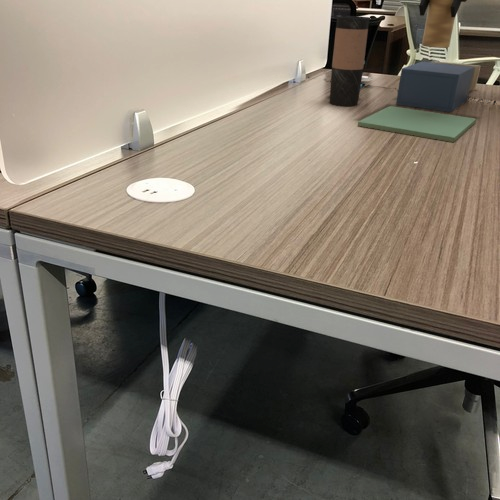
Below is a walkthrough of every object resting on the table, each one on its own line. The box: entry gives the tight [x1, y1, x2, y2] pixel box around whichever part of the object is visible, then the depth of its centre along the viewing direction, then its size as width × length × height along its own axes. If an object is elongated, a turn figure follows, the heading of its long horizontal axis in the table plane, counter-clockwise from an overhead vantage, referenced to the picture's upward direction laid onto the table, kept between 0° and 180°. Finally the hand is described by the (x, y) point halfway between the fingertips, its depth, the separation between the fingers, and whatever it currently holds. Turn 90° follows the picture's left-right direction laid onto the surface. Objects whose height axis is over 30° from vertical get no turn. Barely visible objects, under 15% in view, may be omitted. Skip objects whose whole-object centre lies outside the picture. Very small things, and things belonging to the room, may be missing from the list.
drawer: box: [433, 60, 481, 92], centre depth 141 cm, size 20×13×7 cm, turn 147°
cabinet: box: [395, 61, 474, 113], centre depth 130 cm, size 17×14×9 cm
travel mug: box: [329, 15, 370, 107], centre depth 124 cm, size 8×8×20 cm
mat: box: [357, 105, 477, 143], centre depth 110 cm, size 20×20×1 cm
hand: (437, 11), depth 102 cm, fingers closed on pepper mill, 6 cm apart
